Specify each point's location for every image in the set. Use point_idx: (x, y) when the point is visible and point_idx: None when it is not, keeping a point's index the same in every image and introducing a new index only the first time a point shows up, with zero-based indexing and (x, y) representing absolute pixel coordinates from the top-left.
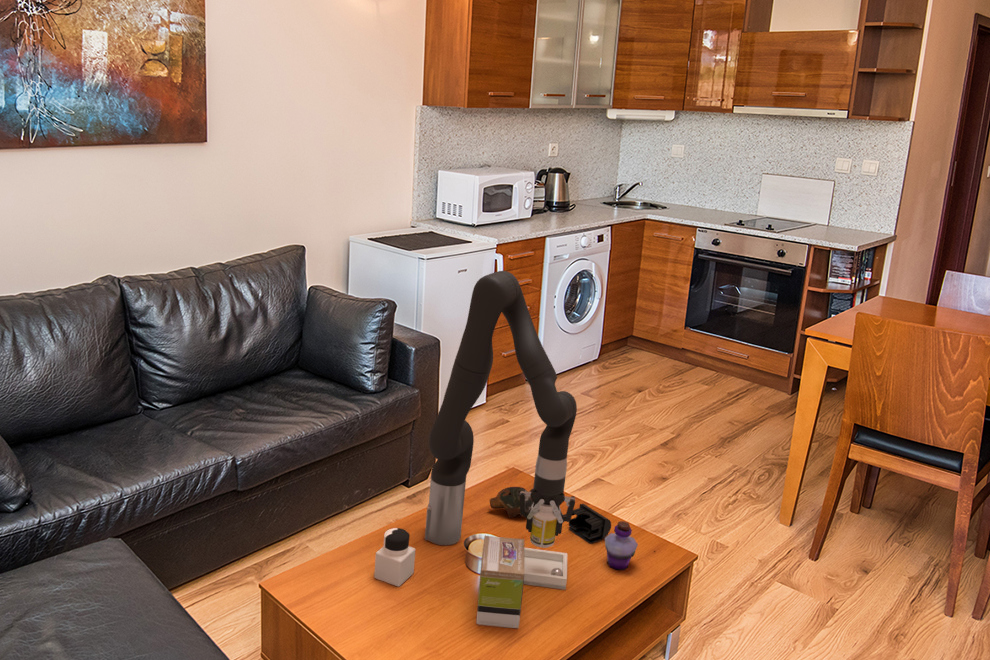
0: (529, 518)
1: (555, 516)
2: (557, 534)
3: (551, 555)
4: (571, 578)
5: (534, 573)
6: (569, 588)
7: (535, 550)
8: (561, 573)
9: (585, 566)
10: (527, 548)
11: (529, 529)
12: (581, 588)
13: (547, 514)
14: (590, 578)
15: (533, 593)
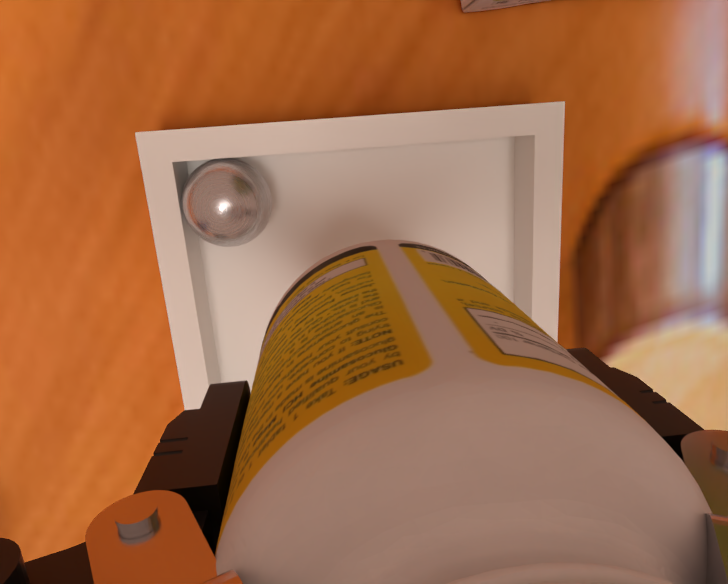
0: (709, 440)
1: (234, 560)
2: (218, 388)
3: None
4: (146, 277)
5: (386, 134)
6: (137, 159)
7: None
8: (186, 189)
9: (87, 430)
10: None
11: (585, 359)
12: (60, 184)
13: (440, 523)
14: (28, 316)
15: (362, 21)
